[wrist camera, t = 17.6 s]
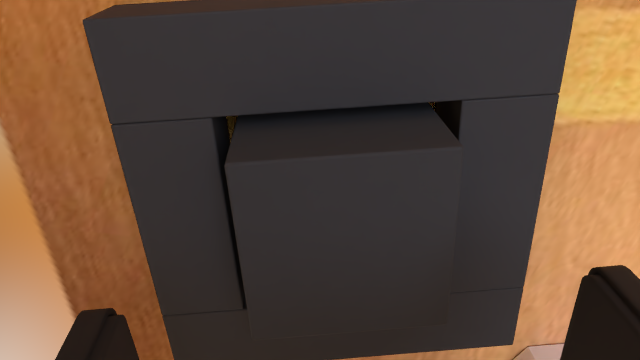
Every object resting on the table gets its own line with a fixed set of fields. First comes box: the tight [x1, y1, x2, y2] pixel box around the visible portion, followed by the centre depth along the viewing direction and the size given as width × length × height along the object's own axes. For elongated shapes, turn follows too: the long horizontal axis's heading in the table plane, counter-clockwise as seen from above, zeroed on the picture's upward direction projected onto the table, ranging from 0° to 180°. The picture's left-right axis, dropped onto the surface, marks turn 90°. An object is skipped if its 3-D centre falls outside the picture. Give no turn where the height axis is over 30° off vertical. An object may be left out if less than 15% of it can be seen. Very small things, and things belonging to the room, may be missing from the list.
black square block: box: [224, 103, 464, 340], centre depth 15 cm, size 6×6×4 cm
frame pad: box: [83, 0, 577, 360], centre depth 16 cm, size 13×13×2 cm
